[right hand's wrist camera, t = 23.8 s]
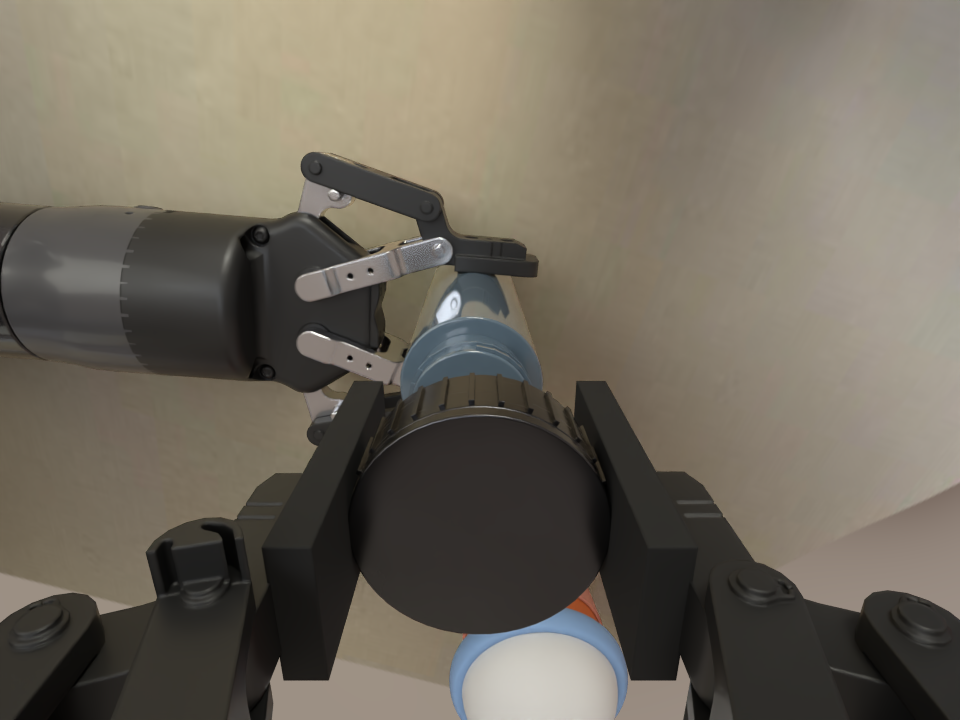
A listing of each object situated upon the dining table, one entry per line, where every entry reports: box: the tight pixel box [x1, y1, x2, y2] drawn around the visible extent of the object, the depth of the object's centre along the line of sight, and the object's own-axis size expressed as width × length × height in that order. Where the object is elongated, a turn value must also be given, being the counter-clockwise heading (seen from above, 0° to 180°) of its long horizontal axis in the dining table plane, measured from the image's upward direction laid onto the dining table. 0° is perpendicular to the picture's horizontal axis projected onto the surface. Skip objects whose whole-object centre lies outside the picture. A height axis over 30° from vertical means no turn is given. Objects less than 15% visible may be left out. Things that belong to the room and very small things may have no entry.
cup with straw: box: [449, 588, 628, 720], centre depth 29 cm, size 9×9×18 cm
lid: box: [348, 373, 611, 634], centre depth 12 cm, size 5×5×2 cm
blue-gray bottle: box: [400, 265, 543, 400], centre depth 24 cm, size 5×5×16 cm
